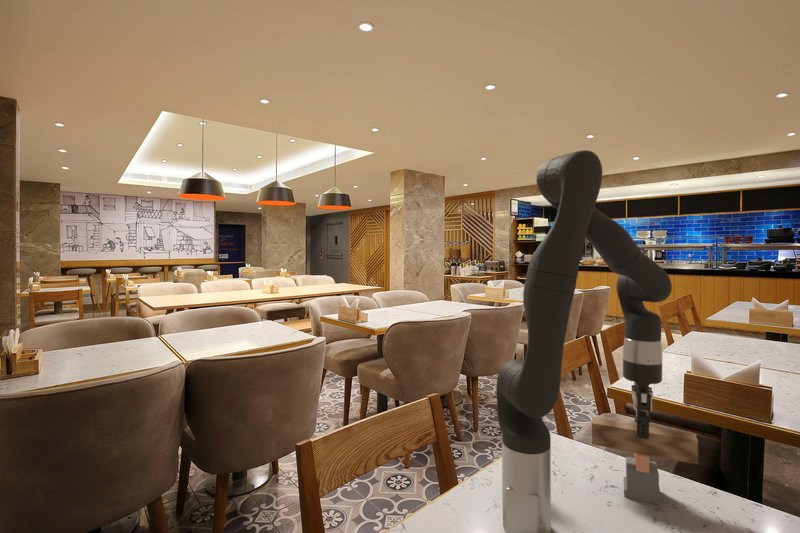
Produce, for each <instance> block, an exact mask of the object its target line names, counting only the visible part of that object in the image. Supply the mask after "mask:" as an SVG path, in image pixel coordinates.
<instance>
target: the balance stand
mask: <svg viewBox="0 0 800 533" xmlns="http://www.w3.org/2000/svg"><path fill="white" fill-rule="evenodd" d="M623 497H624V498H628V499H632V500H637V501H641V502H645V503H649V504H652V505H653V504H654V505H658V506H662V505H663V504H662V501H663V500H662V495H661V490H660V474H659V470H658V465H657V461H651V460H650V455H646V454H640V453H635V452H634V457H631V456H625V476H623Z"/></svg>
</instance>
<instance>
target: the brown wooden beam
mask: <svg viewBox="0 0 800 533" xmlns="http://www.w3.org/2000/svg"><path fill="white" fill-rule="evenodd" d="M591 445H594V446H600V447H605V448H610V449H616V450H621V451H626V452H631V453H634V454H635V453H640V454H646V455H649V456H652V457H656V458H663V459H666V460H667V459H668V460H673V461H679V462H682V463H688V464H694V465H698V464H699V440H698V438H697V435H696V433H690V432H683V431H680V430H679V431H678V430H672V429H666V428H659V427H653V426H649V438H648V439H643V438H639V437H637V423H636V424H634V423H629V422H624V421H616V420H611V419H604V418H598V417H592V419H591Z"/></svg>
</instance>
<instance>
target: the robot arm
mask: <svg viewBox="0 0 800 533" xmlns="http://www.w3.org/2000/svg"><path fill="white" fill-rule="evenodd" d="M535 180H536V185H537V189H538V190H539V192H540V194H541V195H542V196H543V198H544V199H545V200H546V201H547V202H548V203H549V204H550V205H551V206H552V207H553V208H555V209H556V210H557V212H556V216H555V219H554V221H553V223H552V226H551V227H550V229H549V230H548V232H547V233H546V234H545V236H544V238H543V239H542V240H541V241H540V244H538V246H537V247H536V250H534V252H533V255H532V256H531V258H530V260H529V264H528V267H527V272H526V275H525V280H524V281H525V282H524V287H523V292H522V294H523V296H522V299H523V309H524V315H525V321H526V327H527V347H526V351H525V356H524V359H522V358H514V359H511V360H508V361H507V362H505V363H504V364H503V365H502V366H501V368H500V369H499V372H498V374H497V379H496V406H497V407H496V410H497V422H498V425H499V429H500V432H501V433H502V435H501V463H502V464H501V480H502V482H501V483H502V487H501V488H502V489H501V491H502V494H501V495H502V503H501V504H502V526H503V529H504V530H505V533H552V504H551V503H552V499H551V498H552V496H551V495H552V487H551V484H552V482H551V481H552V480H551V478H552V477H551V476H552V474H551V470H552V469H551V466H552V465H551V464H552V463H551V460H552V459H551V457H552V456H551V453H552V452H551V450H552V448H551V447H552V445H551V440H552V438H551V437H552V436H551V433H550V432H551V431H549V428H548V426H547V425H546V423H545V421H544V419H543V417H546V416H547V415H548V414H550V413H551V411H552V410H553V409H554V408H555V405H556V404H557V401H558V398H559V394H560V387H561V379H562V367H563V366H562V365H563V357H564V348H565V347H564V346H565V340H566V335H567V330H568V325H569V319H570V314H571V313H570V312H571V308H572V304H573V300H574V295H575V291H576V286H577V279H578V277H579V276H578V275H579V269H580V264H581V258H582V255H583V250H584V246H585V242H586V240H587V241H588V242H589V243H590V245H592V247H593V248H594V250H596V252H597V254H598V255H599V256H600V258H601V259H602V260H603V262H604V263H605V264H606V266H607V267H608V269H609V270H611V272H613V273H614V274H616V275H618V278H617V280H616V287H615V288H616V294H617V298H618V301H619V304H620V308H621V312H622V315H623V318H624V331H623V332H624V333H623V334H624V340H623V346H622V376H623V378H624V379H625V380H627V381H629V382H633V384H632V385H631V389H630V390H631V398H632V401H633V409H634V422H635V423H636V425H637V437H639V438H643V439H648V438H649V427H650V423H651V421H652V411H653V397H654V391H653V387H652V386H651V387H650V385H652V384H653V385H657V384H660V383H662V381H663V346H662V345H663V344H662V318H661V316H660V314H657V313H655V312H653V311H651V310H648V309H647V308H646V307H645V304H644V302H647V303H661V302H664V301H665V300H667V299H668V298H669V297H670V295H671V294H672V289H673V287H672V286H673V285H672V281H671V278H670V276H669V275H668V273H667V272H666V271H665V269H664V268H662V267H661V266H660V265H659V264H658V263H657V262H655V261H654V260H653V259H652V258H650V257H649V256H648V255H647V254H645V253H643V252H642V251H641V249H640V247H639V245H637V243H636V242H635V240H634V238H632V235H631V234H630V233H629V232H628V231H627V230H626V229H625V228H624V227H623V225H621V224H620V223H618V222H617V221H616V220H614V219H612V218H611V217H609V216H608V215H607V214H605V213H604V212H602V211H600V210H599V209H598V208H597V207H596V203H597V200H598V197H599V194H600V190H601V186H602V181H603V166H602V163H601V160H600V158H599V156H598V155H597V154H596V153H595V152H593V151H591V150H586V149H584V150H577V151H574V152H573V151H572V152H569V153H566V154H562V155H558V156H555V157H552V158H549V159H547V160H545V161H544V162H543V163H542V164H541V165H540V166H539V168H538V170H537V172H536V179H535Z"/></svg>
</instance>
